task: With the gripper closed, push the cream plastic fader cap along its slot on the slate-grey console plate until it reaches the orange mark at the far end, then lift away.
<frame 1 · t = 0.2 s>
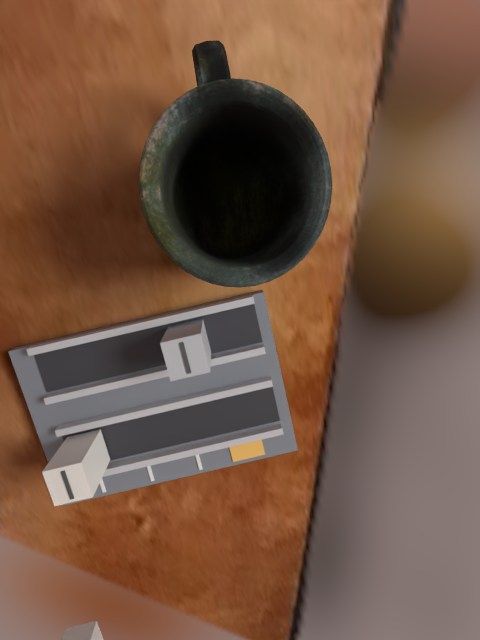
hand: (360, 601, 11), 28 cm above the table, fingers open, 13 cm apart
fader cap: (78, 465, 35), point 4 cm above the table, slide at 0.0 cm
console: (161, 397, 39), on the table
mug: (226, 181, 35), on the table
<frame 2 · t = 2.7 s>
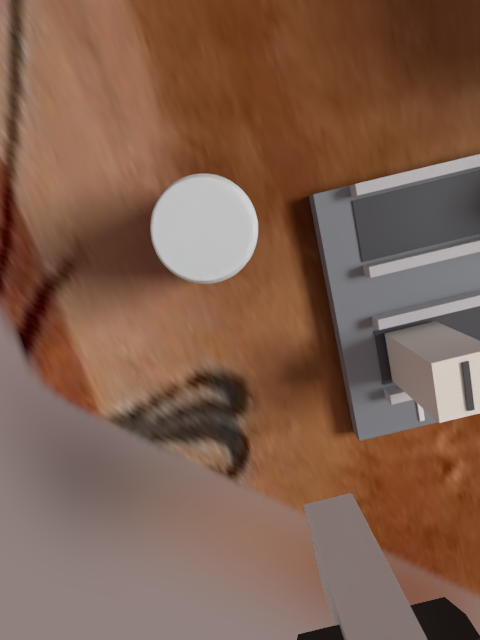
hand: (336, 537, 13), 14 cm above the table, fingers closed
fader cap: (437, 366, 22), point 4 cm above the table, slide at 0.0 cm
pill bottle: (207, 229, 25), on the table
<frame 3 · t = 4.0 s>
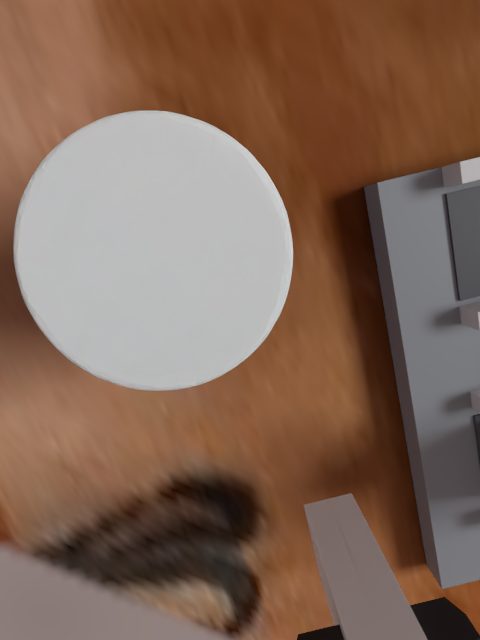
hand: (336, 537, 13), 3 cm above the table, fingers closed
pill bottle: (190, 244, 14), on the table
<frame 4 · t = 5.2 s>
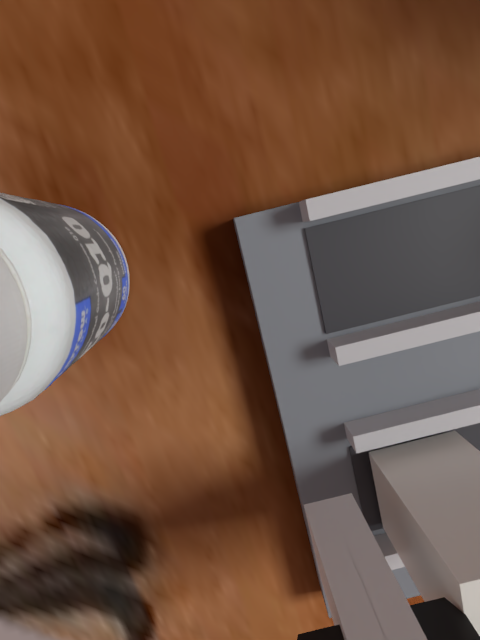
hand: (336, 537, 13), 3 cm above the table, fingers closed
fader cap: (464, 537, 12), point 4 cm above the table, slide at 0.1 cm, touching gripper
pill bottle: (62, 277, 14), on the table
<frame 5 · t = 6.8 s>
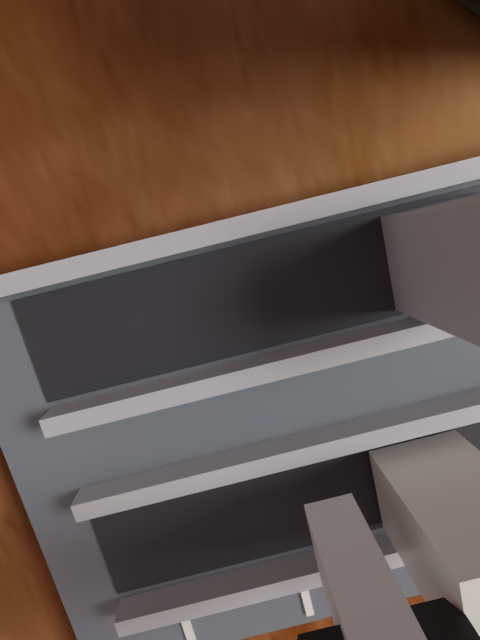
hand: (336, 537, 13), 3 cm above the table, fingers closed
fader cap: (464, 536, 12), point 4 cm above the table, slide at 9.2 cm, touching gripper
console: (330, 411, 16), on the table
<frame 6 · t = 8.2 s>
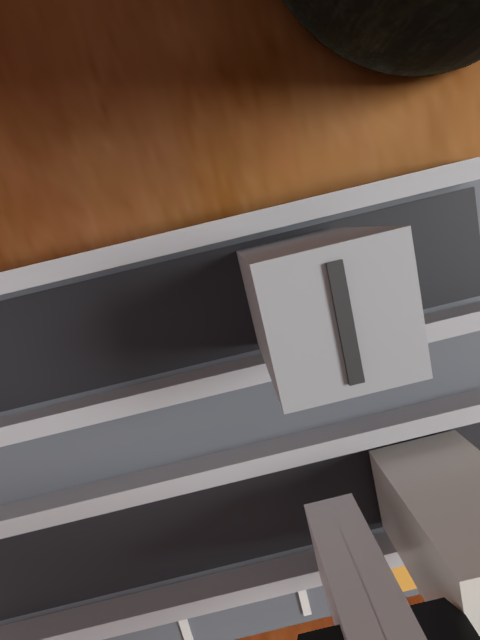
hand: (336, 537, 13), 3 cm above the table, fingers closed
fader cap: (464, 535, 12), point 4 cm above the table, slide at 13.8 cm, touching gripper
console: (209, 440, 16), on the table
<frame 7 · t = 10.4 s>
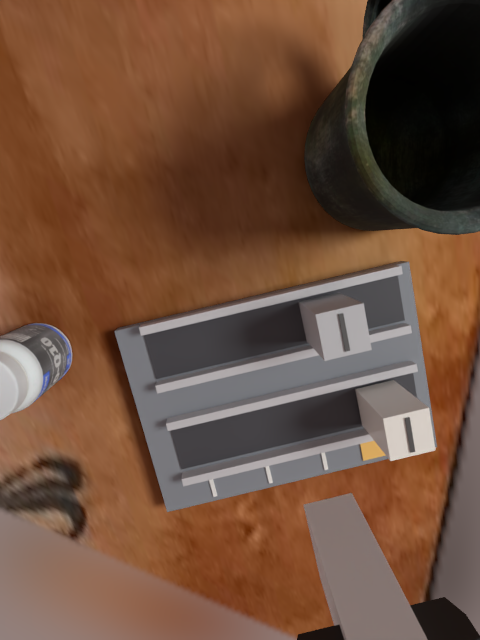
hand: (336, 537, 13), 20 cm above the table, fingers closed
fader cap: (392, 417, 30), point 4 cm above the table, slide at 13.9 cm
console: (280, 386, 34), on the table
pill bottle: (43, 351, 32), on the table
mug: (366, 134, 31), on the table
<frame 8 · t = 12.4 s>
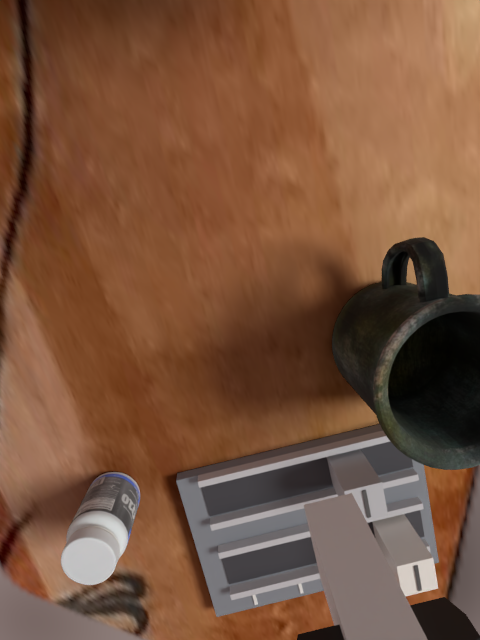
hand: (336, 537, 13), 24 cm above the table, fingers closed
fader cap: (403, 552, 37), point 4 cm above the table, slide at 13.9 cm
console: (310, 514, 41), on the table
pill bottle: (115, 492, 39), on the table
mug: (382, 319, 37), on the table
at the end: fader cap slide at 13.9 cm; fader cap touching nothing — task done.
